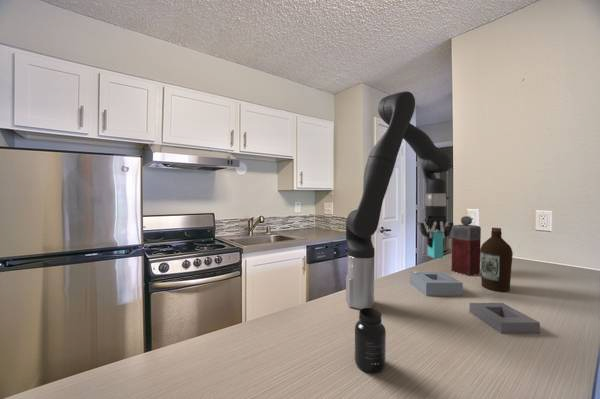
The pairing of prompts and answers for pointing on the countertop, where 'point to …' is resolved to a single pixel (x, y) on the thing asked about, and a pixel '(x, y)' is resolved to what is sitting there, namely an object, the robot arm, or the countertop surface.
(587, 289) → the countertop surface
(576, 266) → the countertop surface
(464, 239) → the red canister
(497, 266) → the brown glass bottle
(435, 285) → the block
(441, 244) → the plug
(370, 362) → the supplement bottle
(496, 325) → the holster
